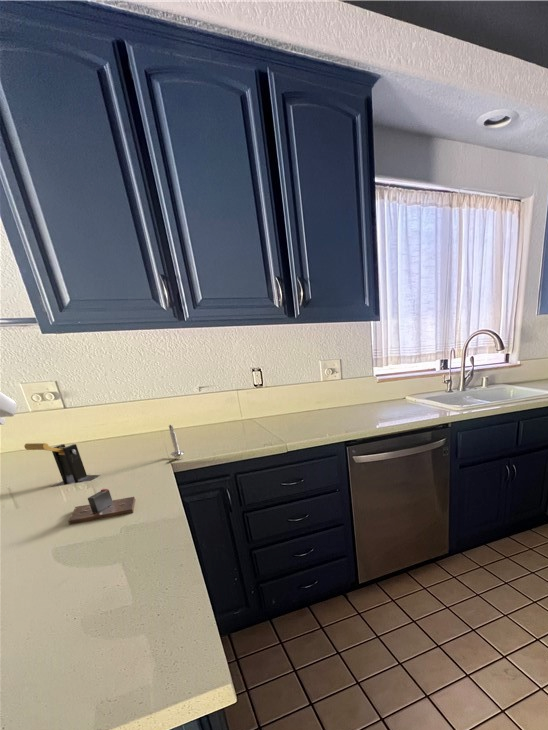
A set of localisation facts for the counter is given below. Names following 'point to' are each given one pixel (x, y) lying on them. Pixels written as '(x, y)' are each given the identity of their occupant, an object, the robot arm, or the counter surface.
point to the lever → (43, 447)
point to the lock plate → (102, 511)
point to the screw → (175, 445)
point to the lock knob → (100, 500)
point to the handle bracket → (71, 466)
